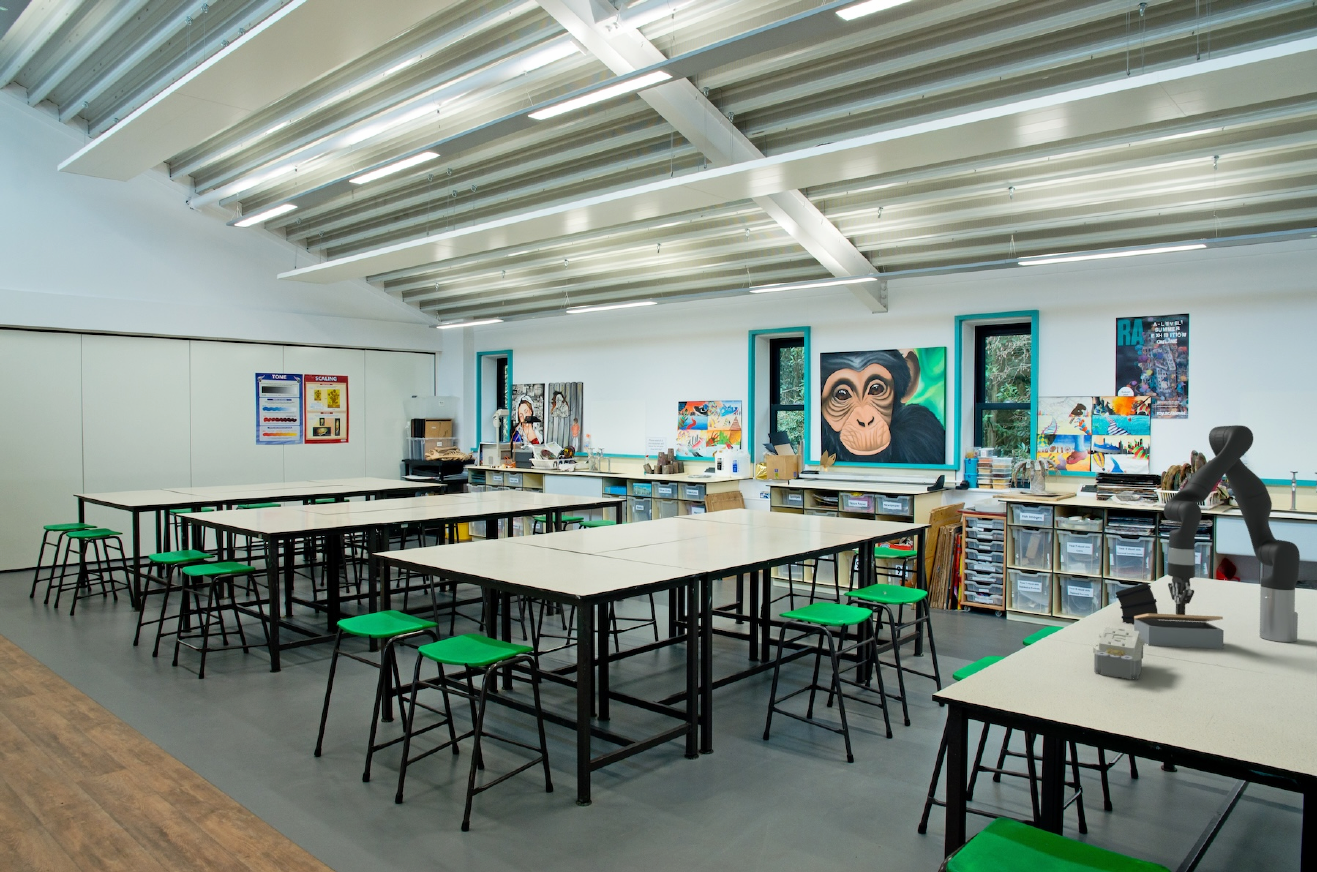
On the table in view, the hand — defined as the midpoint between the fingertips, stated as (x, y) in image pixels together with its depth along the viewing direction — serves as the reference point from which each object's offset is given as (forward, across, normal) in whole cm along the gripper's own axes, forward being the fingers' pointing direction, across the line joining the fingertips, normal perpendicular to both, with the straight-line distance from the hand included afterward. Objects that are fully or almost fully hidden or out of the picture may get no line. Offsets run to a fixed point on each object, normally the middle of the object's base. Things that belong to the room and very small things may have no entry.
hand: (1180, 615), depth 264 cm
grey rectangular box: (+9, +2, 0) cm, 10 cm away
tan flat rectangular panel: (+2, +2, 0) cm, 3 cm away
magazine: (+10, +28, +2) cm, 29 cm away
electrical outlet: (+10, -35, +32) cm, 49 cm away
